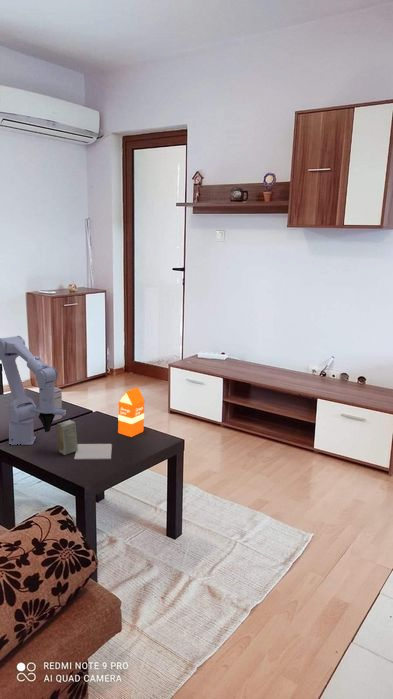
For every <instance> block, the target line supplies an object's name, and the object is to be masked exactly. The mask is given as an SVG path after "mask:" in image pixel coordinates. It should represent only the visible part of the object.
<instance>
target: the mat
mask: <svg viewBox="0 0 393 699" xmlns="http://www.w3.org/2000/svg"><path fill="white" fill-rule="evenodd" d="M77 446H78V450H77V451H75V452H74V453H75V455H74V457H73V459H74V460H112V451H113V450H112V447H113V444H112V443H77Z"/></svg>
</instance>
